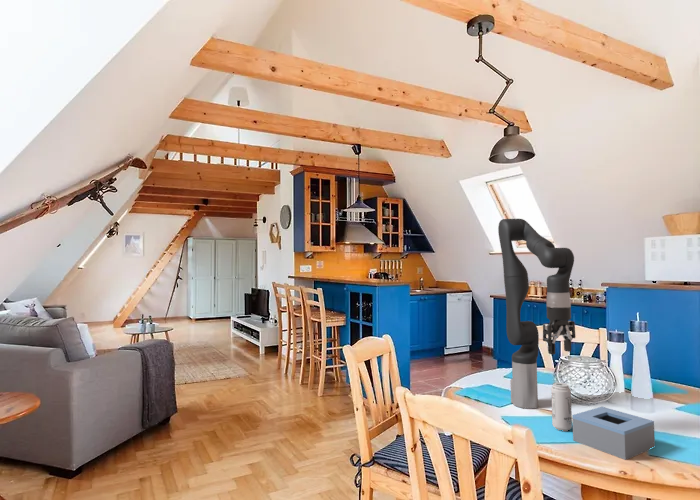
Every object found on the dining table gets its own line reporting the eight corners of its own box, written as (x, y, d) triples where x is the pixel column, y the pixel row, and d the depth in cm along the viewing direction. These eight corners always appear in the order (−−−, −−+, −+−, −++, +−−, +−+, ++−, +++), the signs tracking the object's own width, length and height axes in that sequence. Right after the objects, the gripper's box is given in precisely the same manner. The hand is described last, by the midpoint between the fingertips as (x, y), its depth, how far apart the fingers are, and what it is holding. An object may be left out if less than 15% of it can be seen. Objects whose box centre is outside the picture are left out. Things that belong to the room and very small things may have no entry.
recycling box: (573, 440, 138) (572, 415, 138) (602, 430, 146) (601, 406, 146) (625, 459, 124) (624, 431, 125) (655, 447, 132) (653, 421, 132)
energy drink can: (569, 433, 144) (568, 387, 144) (550, 429, 148) (548, 384, 148) (574, 428, 148) (572, 384, 149) (555, 424, 152) (554, 381, 153)
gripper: (561, 303, 156) (562, 348, 156) (535, 305, 149) (536, 353, 149) (581, 305, 150) (582, 352, 149) (555, 307, 143) (556, 357, 142)
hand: (559, 352), depth 149 cm, fingers open, 8 cm apart
